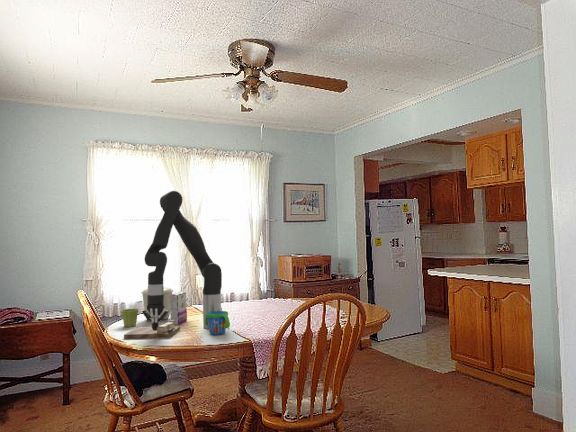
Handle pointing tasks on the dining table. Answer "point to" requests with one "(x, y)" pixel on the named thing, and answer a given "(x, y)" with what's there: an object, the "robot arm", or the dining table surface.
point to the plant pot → (129, 317)
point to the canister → (166, 300)
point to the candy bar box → (178, 307)
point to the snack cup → (217, 322)
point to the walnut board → (150, 333)
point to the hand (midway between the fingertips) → (155, 330)
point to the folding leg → (166, 327)
